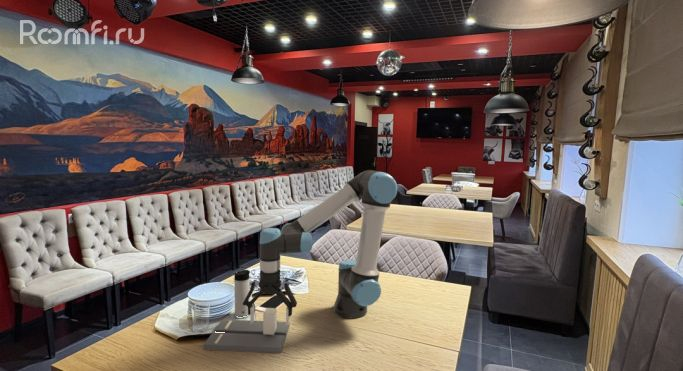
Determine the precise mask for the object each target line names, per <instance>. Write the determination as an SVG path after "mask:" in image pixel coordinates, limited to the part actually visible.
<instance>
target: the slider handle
mask: <svg viewBox="0 0 683 371" xmlns="http://www.w3.org/2000/svg"><path fill="white" fill-rule="evenodd" d="M277 310H278V309H277V308H266V310H265V312H263V313H262V314H263V316H262V317H263V318H262V321H263V334H268V335H274V333H275V331H276V328H277V322H278V321H277V315H278V314H277V313H278V312H277Z"/></svg>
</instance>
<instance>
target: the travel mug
mask: <svg viewBox="0 0 683 371" xmlns="http://www.w3.org/2000/svg"><path fill="white" fill-rule="evenodd" d="M250 273H251V271H250V270H249V269H241V270H238V271H236V272H234V278H233V279H234V281H233V282H234V283H233V284H234V290H233V291H234V292H233V293H234V316H235V315H236V316H238V317H243V316H247V315H248V306H246V305H243V302H244V300H245V298H246V296H247V294H248V293H249V291H250V289H251V287H250ZM250 298H251V297H250ZM250 298H249V300H248V301H249V302H250V301H251V299H250Z"/></svg>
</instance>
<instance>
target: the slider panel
mask: <svg viewBox="0 0 683 371" xmlns="http://www.w3.org/2000/svg"><path fill="white" fill-rule="evenodd" d="M290 325H291V323H290V321H289V324H288V325H286V321H277V328H276V331H275V333H274V335H268V334H263V320H254V322H253V324H250V319H249V320H248V319H247V320H245V319H244V320H243V319H223V318H222V319H221V320H220V322H219V323H218V324H217V325H216V327H215V328H214V332H212V333H211V334H210V335H209V337H208V338H207V339H206V341H205V342H204V343H203V350H204V351H225V352H227V351H229V352H232V351H233V352H250V353H252V352H253V353H254V352H255V353H272V354H273V353H280V354H281V353H282V350H283V349H284V348H283V347H284V345H285V343H286V342H285V341H286V338H287V336H288V333H289V330H290ZM215 331H216V332H225V333H215Z"/></svg>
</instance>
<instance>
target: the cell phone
mask: <svg viewBox="0 0 683 371" xmlns="http://www.w3.org/2000/svg"><path fill="white" fill-rule="evenodd" d="M284 295H285V294H284ZM285 296H286V297H287V298H288V299H289V297H288V295H287V294H286V295H285ZM289 300H290V299H289ZM284 304H285V303H284V302H283V301H282V300H281V299H280V298H279V296H277V295H276V294H272V296H271V297H269V298H268V299H266V300H265V301H264V302H262V303H260V304H259V305H258V306H256V307H254V311H258V312H262V313H264V312H265V310H266V308H277V310H278V309H279V308H281V307H282V306H283V305H284Z"/></svg>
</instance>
